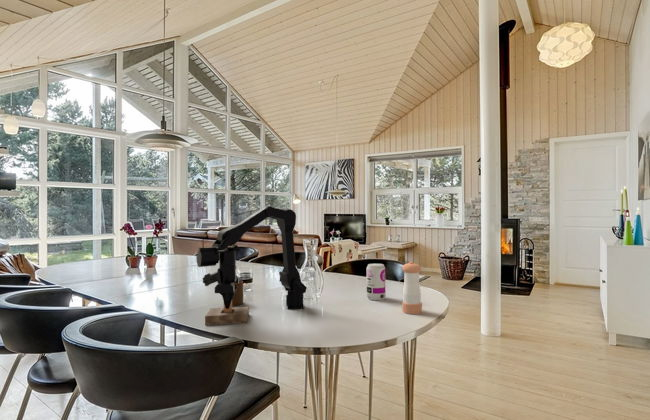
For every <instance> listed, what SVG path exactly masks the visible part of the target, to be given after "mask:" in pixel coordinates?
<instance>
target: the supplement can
mask: <svg viewBox="0 0 650 420" xmlns="http://www.w3.org/2000/svg"><path fill="white" fill-rule="evenodd" d="M365 269H366V298H367V299H368V300H371V301H384V300H385V298H387V295H386V293H387V292H386V267H385V264H383V263H368V264H367V266H366V268H365Z"/></svg>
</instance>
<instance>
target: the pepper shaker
mask: <svg viewBox="0 0 650 420" xmlns="http://www.w3.org/2000/svg"><path fill="white" fill-rule="evenodd" d="M401 269H402V271H403V272H404V274H403V275H404V280H403V281H404V284H403V289H402V290H403V291H402V300H403V301H402V303H401V305H402V307H401V308H402V311H401V312H403V313H405V314H408V315H418V314H422V312H423V303H422V302H421V300H422V299H421V298H422V296H421V295H422V293H421V286H420V273H421V271H422V267H421V265H420V264H418V263H415V262H414V261H409V262H408V263H405V264H403V266H402V268H401Z"/></svg>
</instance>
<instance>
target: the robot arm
mask: <svg viewBox="0 0 650 420" xmlns="http://www.w3.org/2000/svg"><path fill="white" fill-rule="evenodd" d="M268 218H270V219H273V220H275V221H276V224H277V227H278V229H279V231H280V233H281V246H282V259H283V260H282V261H283V268H282V271H279V272H278V275H279V282H280V284H281V286H282V287H284V290H285V291H287V294H286V295H285V303H286V305H285V306H286V307H287V309H288V310H293V309H294V310H295V309H305V306H304V293H305V294H306V292H307V289H308V287H307V286H306V285H305V284H304V283H303V282H302V280H301V275H300V272H299V269H298V268H297V266H296V265H297V264H296V253H295V240H294V238H295V237H294V230H295V226H296V224H297V222H296V221H297V214H296V212H295V211H294V210H293V209H292V208H291V209H286V208H285V209H280V208H277V207H272V206H270V205H266V206H262V207H261V208H260V209H258V210H257V211H255V212H254V213H252V214H251V215H250V216H248V217H246V218H245V219H243V220H242V221H240V222H238V223H237V224H234V225H231V226H228V227H226V228H224V229H221V230H220V231H218V233H217V236H216V237H217V238H216V239H215V241H214V242H213V244H212V245H211V246H209V247H207V246H206V247H203V246H199V247H198V251H197V253H196V265H197V267H198V268H202V267H203V268H205V267H215V266H217V264H219V267H218V268H217V271H214V272H212V273H210V272H209V273H207V274H204V275H203V277H202V283H203V284H204V286H205V287H209V286H210V285H212V284H214V283H217V284H216V285H215V286H214V294H219V295H221V297H222V300H223V305H224V304H225V308H226V309H229V307H230V304H231V301H232V300H233V297H234V294H235V292H236V289H237V286H238V285H234V284H233V283H234V282H237V284H238V283H239V280H240V277H239V276H238V275H237V273H236V272H237V271H236V270H237V265H236V260H237V259H236V255H237V254H236V253H237V252H242V249H241V248H240V247H239V246H238V244H237V243H238V242H239V241H240V240H241V239H242V238H243V236H244V234H246V233H247V232H248V231H250V230H251V229H253V228H254V227H256V226H257V225H259V224H260V223H262V222H263V221H265V220H266V219H268Z"/></svg>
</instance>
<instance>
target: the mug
mask: <svg viewBox="0 0 650 420" xmlns="http://www.w3.org/2000/svg"><path fill="white" fill-rule="evenodd" d="M233 284H234V285H238V286H237V289H236V292H235V294H234V297H233V300H232V307H239V306H240V305H243V303H244V281H243V280H240V279H239V283H238V284H237V282H234V283H233Z"/></svg>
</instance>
